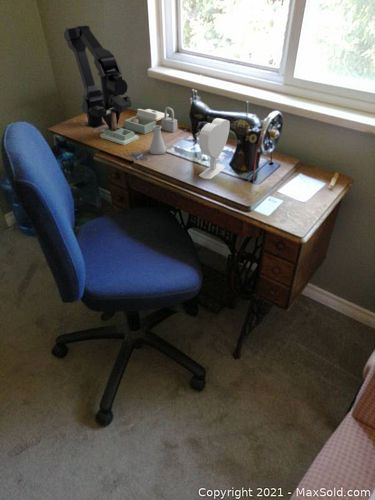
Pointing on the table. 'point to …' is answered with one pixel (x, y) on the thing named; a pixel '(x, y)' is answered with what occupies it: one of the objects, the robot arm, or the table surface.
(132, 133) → the build board
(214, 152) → the heart sculpture
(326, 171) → the table surface
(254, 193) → the table surface
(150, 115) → the cover
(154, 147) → the flask
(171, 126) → the padlock
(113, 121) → the dowel
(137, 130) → the box
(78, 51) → the robot arm
